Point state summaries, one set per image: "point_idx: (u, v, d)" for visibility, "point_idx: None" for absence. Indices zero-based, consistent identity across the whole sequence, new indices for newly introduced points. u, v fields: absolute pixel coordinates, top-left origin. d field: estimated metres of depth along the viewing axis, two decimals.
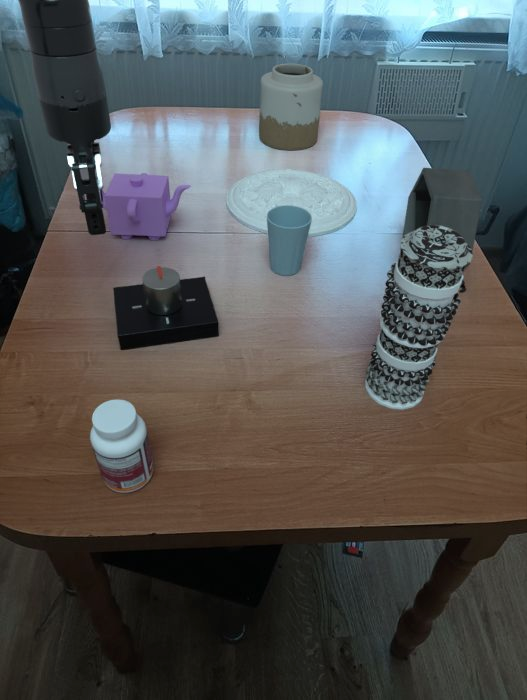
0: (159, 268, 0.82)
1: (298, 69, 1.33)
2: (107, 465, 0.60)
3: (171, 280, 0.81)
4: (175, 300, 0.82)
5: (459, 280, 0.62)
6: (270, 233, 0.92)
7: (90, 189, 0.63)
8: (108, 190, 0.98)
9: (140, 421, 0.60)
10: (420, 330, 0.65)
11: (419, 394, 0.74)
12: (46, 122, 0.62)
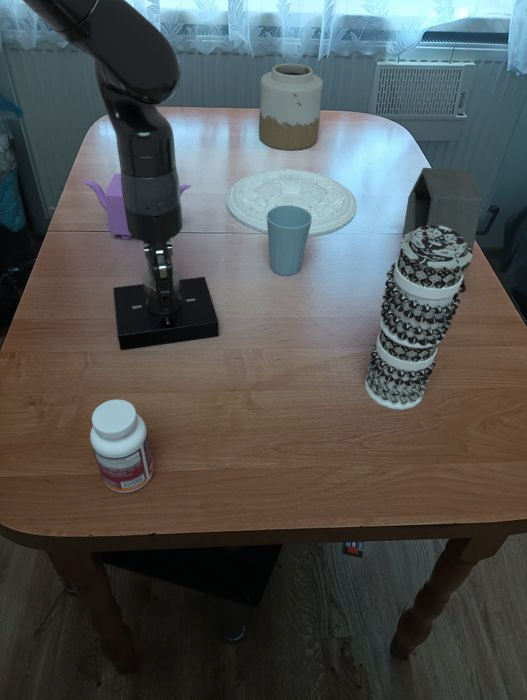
0: None
1: (298, 69, 1.33)
2: (107, 465, 0.60)
3: None
4: (175, 300, 0.82)
5: (459, 280, 0.62)
6: (270, 233, 0.92)
7: (166, 283, 0.74)
8: (108, 190, 0.98)
9: (140, 421, 0.60)
10: (420, 330, 0.65)
11: (419, 394, 0.74)
12: (129, 224, 0.72)
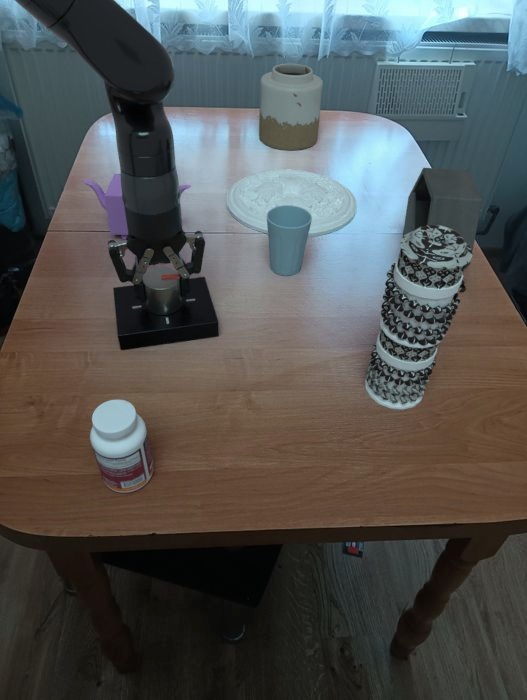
0: (174, 275, 0.81)
1: (298, 69, 1.33)
2: (107, 465, 0.60)
3: (153, 283, 0.80)
4: (148, 301, 0.82)
5: (459, 280, 0.62)
6: (270, 233, 0.92)
7: None
8: (108, 190, 0.98)
9: (140, 421, 0.60)
10: (420, 330, 0.65)
11: (419, 394, 0.74)
12: None
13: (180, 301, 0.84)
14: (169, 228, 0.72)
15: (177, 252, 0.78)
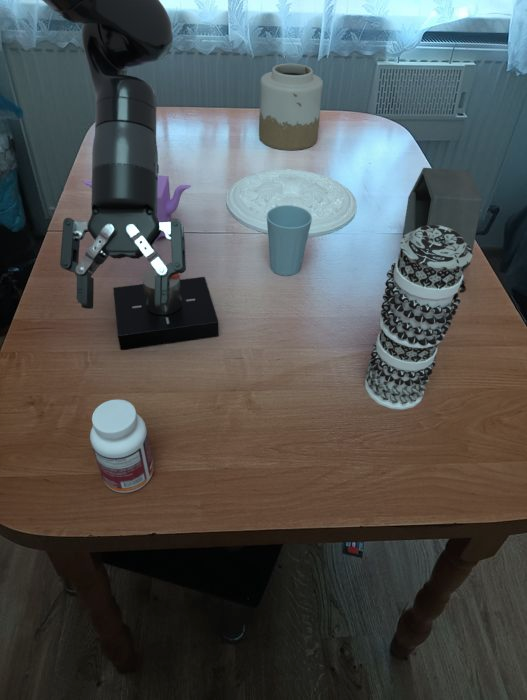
0: (174, 275, 0.81)
1: (298, 69, 1.33)
2: (107, 465, 0.60)
3: (154, 284, 0.80)
4: (148, 301, 0.82)
5: (459, 280, 0.62)
6: (270, 233, 0.92)
7: (183, 246, 0.64)
8: None
9: (140, 421, 0.60)
10: (420, 330, 0.65)
11: (419, 394, 0.74)
12: (130, 186, 0.60)
13: (180, 301, 0.84)
14: None
15: None
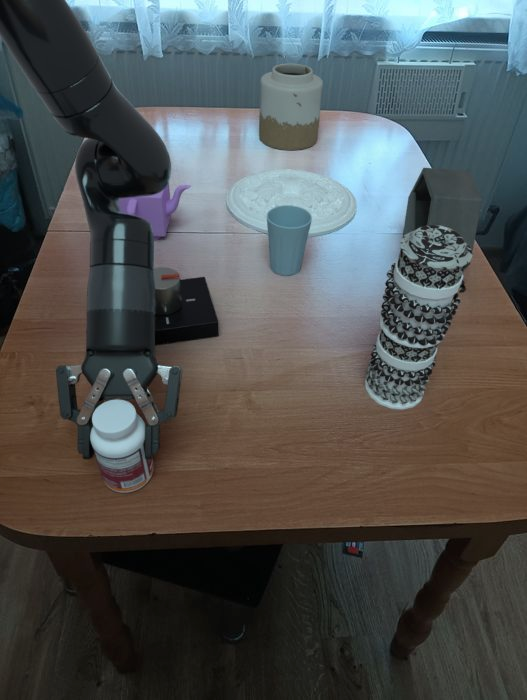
0: (174, 275, 0.81)
1: (298, 69, 1.33)
2: (107, 465, 0.60)
3: None
4: None
5: (459, 280, 0.62)
6: (270, 233, 0.92)
7: (178, 392, 0.61)
8: None
9: (140, 421, 0.60)
10: (420, 330, 0.65)
11: (419, 394, 0.74)
12: (128, 332, 0.58)
13: (180, 301, 0.84)
14: None
15: None
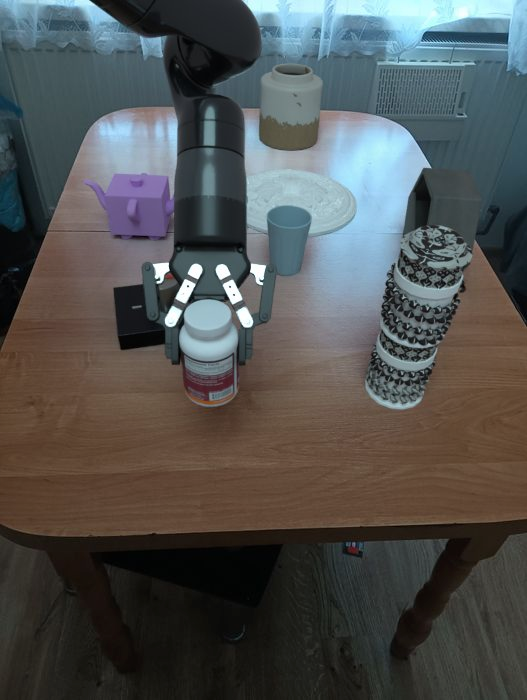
0: None
1: (298, 69, 1.33)
2: (197, 372, 0.55)
3: None
4: None
5: (459, 280, 0.62)
6: (270, 233, 0.92)
7: None
8: (108, 190, 0.98)
9: (232, 324, 0.55)
10: (420, 330, 0.65)
11: (419, 394, 0.74)
12: (224, 222, 0.52)
13: None
14: None
15: None
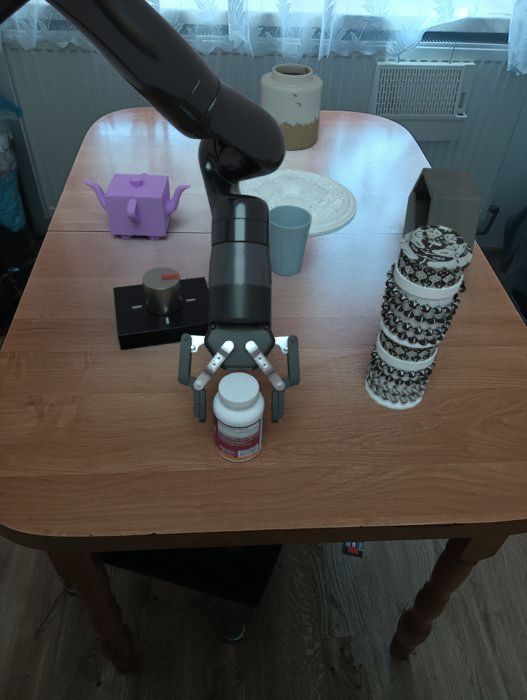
0: (174, 275, 0.81)
1: (298, 69, 1.33)
2: (229, 435, 0.63)
3: (154, 284, 0.80)
4: (148, 301, 0.82)
5: (459, 280, 0.62)
6: (270, 233, 0.92)
7: None
8: (108, 190, 0.98)
9: (259, 393, 0.64)
10: (420, 330, 0.65)
11: (419, 394, 0.74)
12: (253, 306, 0.61)
13: (180, 301, 0.84)
14: None
15: None
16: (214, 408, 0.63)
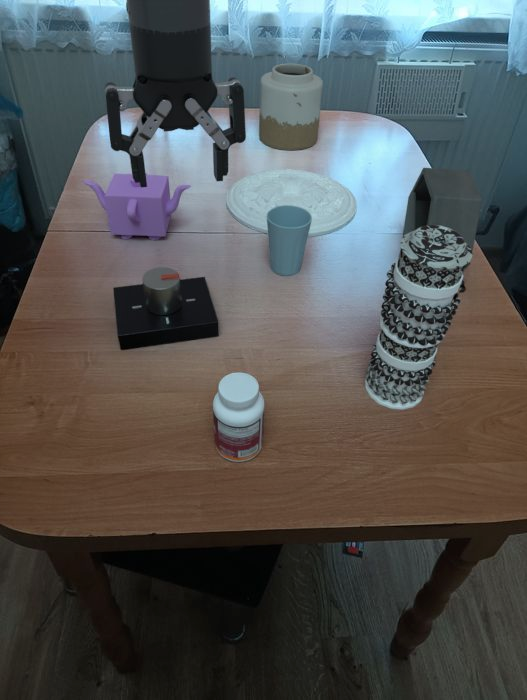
0: (174, 275, 0.81)
1: (298, 69, 1.33)
2: (229, 435, 0.63)
3: (154, 284, 0.80)
4: (148, 301, 0.82)
5: (459, 280, 0.62)
6: (270, 233, 0.92)
7: None
8: (108, 190, 0.98)
9: (259, 393, 0.64)
10: (420, 330, 0.65)
11: (419, 394, 0.74)
12: (193, 60, 0.50)
13: (180, 301, 0.84)
14: None
15: None
16: (214, 408, 0.63)
